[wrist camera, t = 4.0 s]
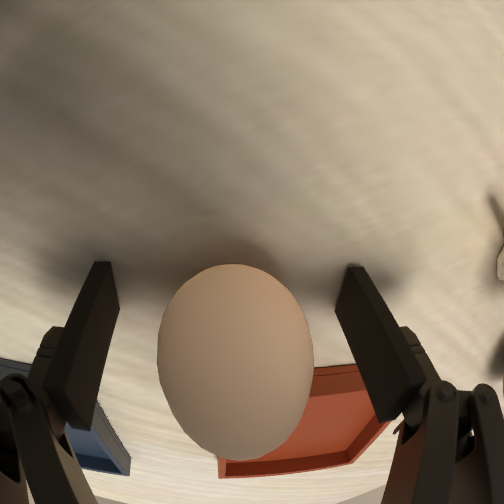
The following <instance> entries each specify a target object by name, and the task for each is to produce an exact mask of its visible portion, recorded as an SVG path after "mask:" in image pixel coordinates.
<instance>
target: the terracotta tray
mask: <svg viewBox="0 0 504 504" xmlns="http://www.w3.org/2000/svg"><path fill="white" fill-rule="evenodd" d="M390 423H391V421H388V422H384V423H379V422H378V419H377V417H376V414H375V411H374V409H373V406H372V403H371V401H370V398H369V395H368V393H367V390H366V387H365V385H364V382H363V380H362V377H361V375H360V372H359V369H358V367H357V364H356V365H346V366H337V367H326V368H314V371H313V379H312V384H311V389H310V394H309V398H308V401H307V404H306V407H305V409H304V412H303V414H302V417H301V419H300V421H299V423H298V425H297V426H296V428H295V429H294V431H293V432H292V433H291V435H290V436H289V437H288V439H287V440H286V441H285V442H284V443H282V444H281V445H280V446H279V447H278V448H276V449H275V450H273V451H271V452H269V453H267V454H265V455H264V456H262V457H260V458H257V459H251V460H244V461H235V460H229V459H225V458H222V457H219V456H217V461H218V477H219V479H222V478H249V477H263V476H275V475H285V474H293V473H301V472H308V471H315V470H321V469H327V468H332V467H338V466H343V465H348V464H352V463H353V462H354V461H355V460H356V459H357V458H358V457H359V456H360V455H361V454H362V453H363V452H364V451H365V450H366V449H367V448H368V447H369V446H370V445H371V444H372V443H373V442H374V441H375V439H376V438H377V437H378V436H379V435H380V434H381V433H382V432H383V431H384V429H385V428H386V427H387V426H388V425H389V424H390Z"/></svg>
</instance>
